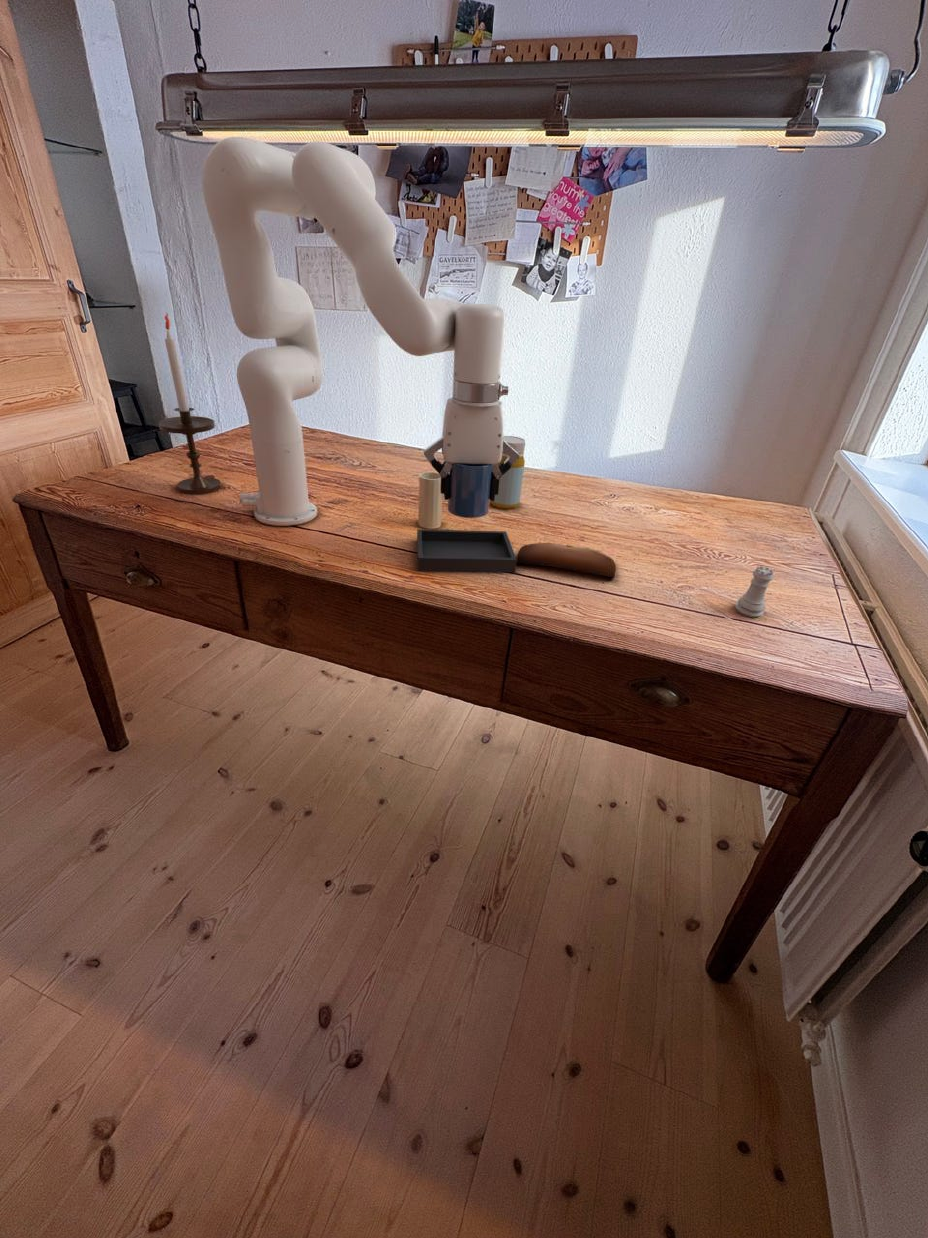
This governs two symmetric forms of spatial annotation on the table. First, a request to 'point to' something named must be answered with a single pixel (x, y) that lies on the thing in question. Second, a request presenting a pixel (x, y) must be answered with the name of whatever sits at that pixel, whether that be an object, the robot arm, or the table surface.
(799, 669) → the table surface
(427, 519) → the small cup
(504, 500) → the bottle
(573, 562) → the sunglasses case
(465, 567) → the tray
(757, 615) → the rook chess piece
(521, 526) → the table surface
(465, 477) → the big cup
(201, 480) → the candlestick
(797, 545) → the table surface
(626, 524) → the table surface
